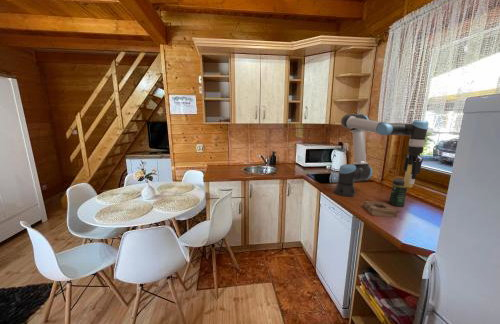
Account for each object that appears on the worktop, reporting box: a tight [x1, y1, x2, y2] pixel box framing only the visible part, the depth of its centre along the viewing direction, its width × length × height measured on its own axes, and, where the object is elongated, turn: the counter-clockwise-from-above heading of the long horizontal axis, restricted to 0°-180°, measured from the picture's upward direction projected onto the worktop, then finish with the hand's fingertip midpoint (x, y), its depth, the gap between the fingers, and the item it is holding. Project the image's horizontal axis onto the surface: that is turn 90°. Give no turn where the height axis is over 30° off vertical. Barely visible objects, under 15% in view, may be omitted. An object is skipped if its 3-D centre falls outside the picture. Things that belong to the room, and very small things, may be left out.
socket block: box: [363, 200, 398, 218], centre depth 136 cm, size 14×14×4 cm
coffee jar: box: [389, 178, 408, 207], centre depth 148 cm, size 10×8×19 cm
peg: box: [404, 164, 414, 189], centre depth 131 cm, size 4×4×14 cm
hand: (408, 182), depth 132 cm, fingers closed on peg, 4 cm apart
